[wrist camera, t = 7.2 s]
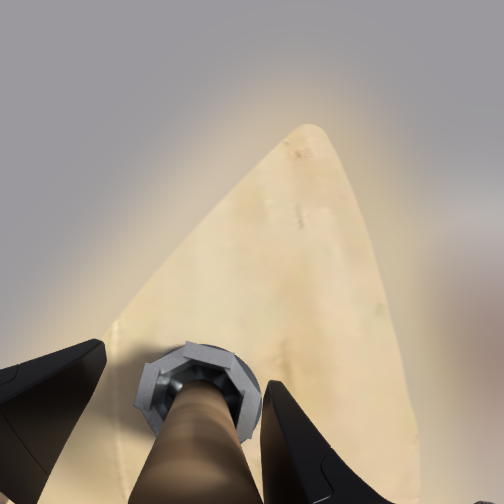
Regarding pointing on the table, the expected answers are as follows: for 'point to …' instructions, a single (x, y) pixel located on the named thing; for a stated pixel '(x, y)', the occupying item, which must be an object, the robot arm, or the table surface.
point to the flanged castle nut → (200, 367)
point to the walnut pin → (196, 454)
